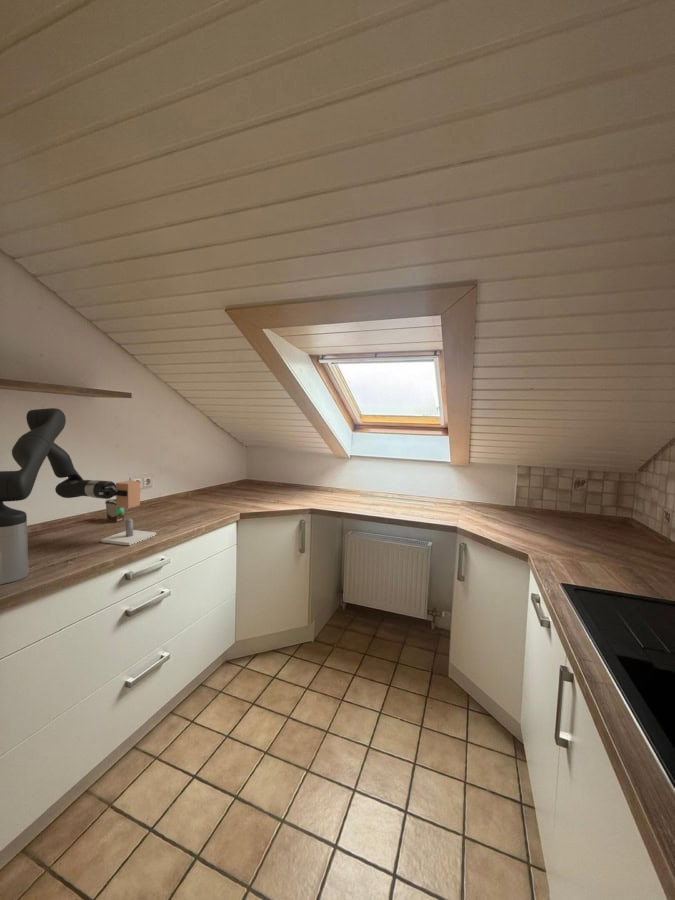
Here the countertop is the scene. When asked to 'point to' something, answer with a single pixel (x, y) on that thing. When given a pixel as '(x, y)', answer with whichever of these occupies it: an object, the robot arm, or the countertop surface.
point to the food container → (114, 511)
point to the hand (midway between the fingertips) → (133, 492)
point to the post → (128, 535)
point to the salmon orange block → (128, 494)
